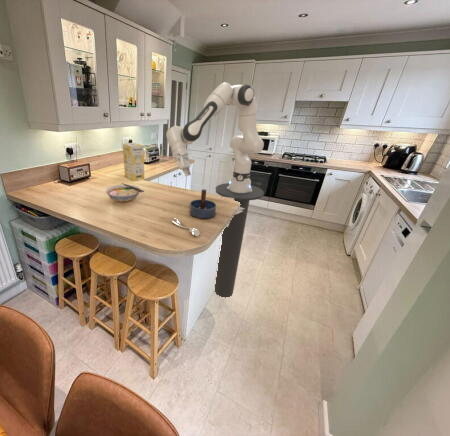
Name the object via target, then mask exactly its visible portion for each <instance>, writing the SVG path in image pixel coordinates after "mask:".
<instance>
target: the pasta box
mask: <svg viewBox="0 0 450 436" xmlns="http://www.w3.org/2000/svg"><path fill="white" fill-rule="evenodd" d="M144 151H145V149H144V145H143V144H140V143H137V142H126V143H122V156H123V168H124V177H126V178H128V179H129V180H131V181H133V182H135V181H141V180H145V178H146V177H145V155H144V154H145V152H144Z"/></svg>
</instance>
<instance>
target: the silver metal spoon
mask: <svg viewBox="0 0 450 436" xmlns="http://www.w3.org/2000/svg"><path fill="white" fill-rule="evenodd" d="M171 222H172V223H173V224H175V226H177V227H180V228H183V229H188V231H189V232H190V233H191V234H192V235H193V236H195V237H199V236H200V233H201V232H200V230H199V229H198V228H197V227H188V226H184V225H183V224H182V223H181V222H180V221H179V219H178V218H175V217H172V218H171Z"/></svg>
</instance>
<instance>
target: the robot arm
mask: <svg viewBox="0 0 450 436" xmlns="http://www.w3.org/2000/svg"><path fill="white" fill-rule="evenodd" d="M254 89H255V88H254V87H253V86H252V85H250V84H235V85H231V84H230V83H229V82H222V83H220V84H219V85H218V86H217V87H215V88H214V89H213V91H212V92H211V93H210V94H209V95H208V97H207V98H206V100H205V102H204V104H203V107H202V110H201V111H200V112H199V113H198V115H197V116H196V117H195V118H194V119H193V120H191V121H188V122H187V123H186V124H185V125H184V126H179V125H176V124H175V125H171V126H170V127H169V128H168V129H167V130H166V132H165V136H166V140H167V143H168V145H169V147H170V150H171V154H172V157H173V159H174V160H176V162H177V165H178V168H179V170H180V171H181V170H182V172H183V174H184V176H185V177H189V176H191V175H192V173H191V169H190V168H191V162H190V159H189V152H188V149H187V146H188V145H192V144H194V143H195V142H196V141H197V140H198V139H199V138H200V137H201V135H202V132H203V128H204V127H205V125H206V124H207V123H208V121H209V120H210V119H211V118H212V117H215V116H217V115H219V114H220V113H221V112H222V111H223V110H224V108H225V107H226V106H237V110H238V111H237V128H238V130H239V131H240V132H241V134H236V135H234V136H232V137H231V139H230V141H229V146H230V148H231V149H232V152H233V154H234V169H233V172H232V177H231V178H230V179H229V182H228V183H230V184H229V186H228V187H227V188H226V189H229V190H230V191H232V192H236V193H248V192H252V188H251V185H252V179H251V168H252V160H251V158H250V156H249V154H250V155H257V154H258V155H259V154H260V153H261V152H262V151H263V149H264V146H265V144H264V141H263V140H264V139H262V138H261V137H260V135H259V132H258V129H257V101H256V97H255V90H254Z"/></svg>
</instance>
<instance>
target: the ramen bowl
mask: <svg viewBox="0 0 450 436" xmlns="http://www.w3.org/2000/svg"><path fill="white" fill-rule="evenodd" d="M144 192H145V190H143V189H141V188H140V187H139V186H137V185H134V184H126V183H124V182H123V183H122V184H117V185H112V186H109V187H108V188H106V189H105V193H106V195H108V197H109V198H110V199H111V200H113V201H115V202H120V203H127V202H130V201H132V200H134V199H136V197H138V196H139V194H140V193H144Z"/></svg>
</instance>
